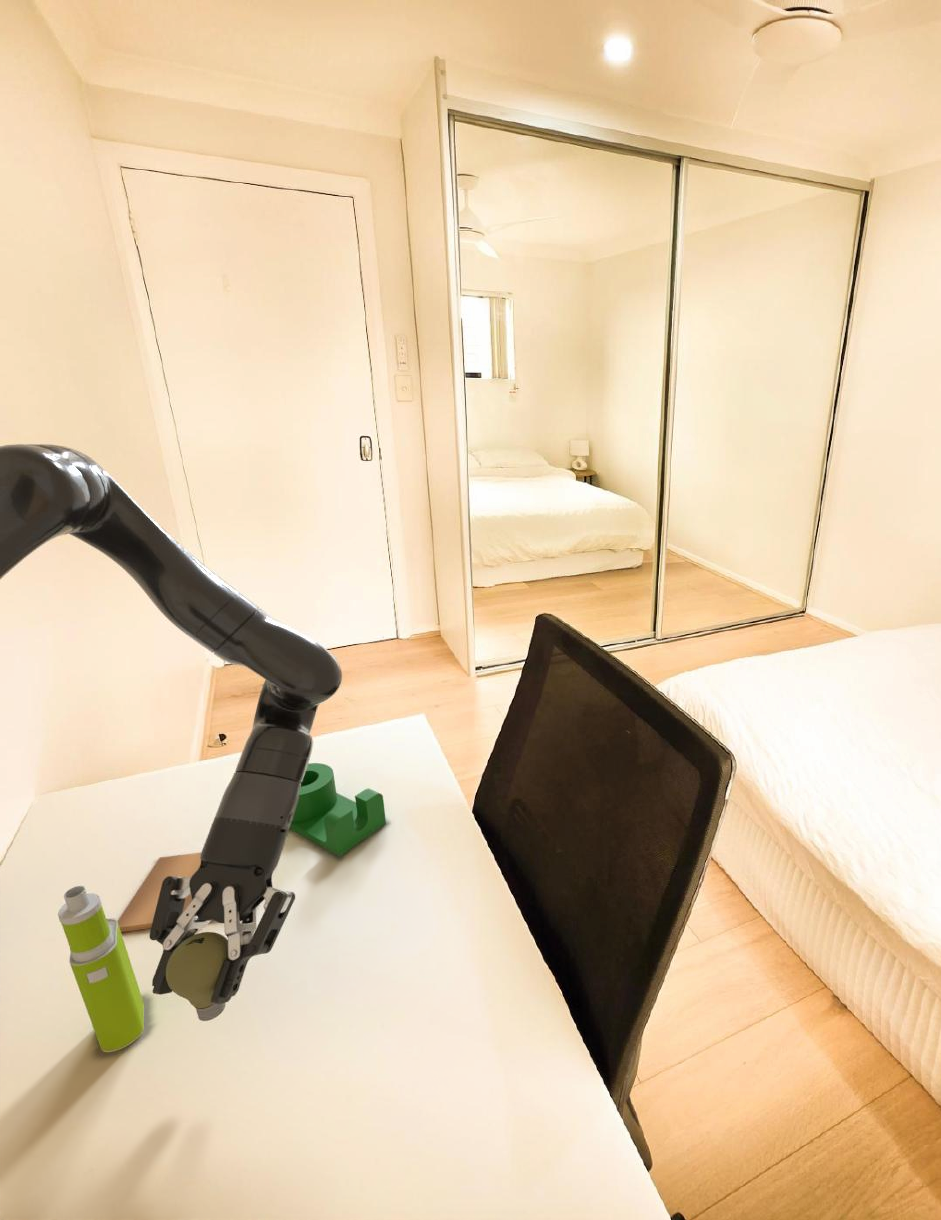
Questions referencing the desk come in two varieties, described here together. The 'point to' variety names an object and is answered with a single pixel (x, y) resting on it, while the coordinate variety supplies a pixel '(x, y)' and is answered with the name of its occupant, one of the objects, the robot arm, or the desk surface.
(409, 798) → the desk surface
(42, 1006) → the desk surface
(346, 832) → the slotted cylinder bracket
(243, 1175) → the desk surface
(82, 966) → the vape
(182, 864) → the brown wooden board
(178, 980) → the light bulb
